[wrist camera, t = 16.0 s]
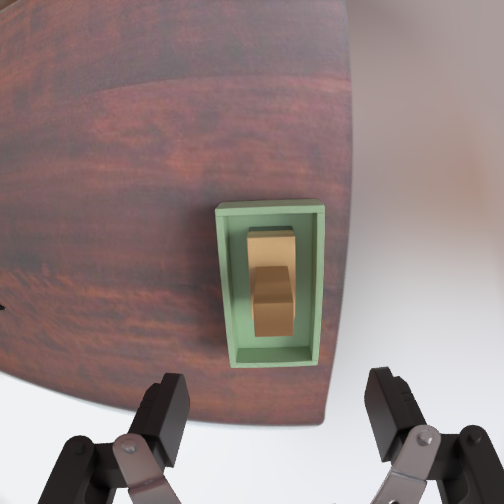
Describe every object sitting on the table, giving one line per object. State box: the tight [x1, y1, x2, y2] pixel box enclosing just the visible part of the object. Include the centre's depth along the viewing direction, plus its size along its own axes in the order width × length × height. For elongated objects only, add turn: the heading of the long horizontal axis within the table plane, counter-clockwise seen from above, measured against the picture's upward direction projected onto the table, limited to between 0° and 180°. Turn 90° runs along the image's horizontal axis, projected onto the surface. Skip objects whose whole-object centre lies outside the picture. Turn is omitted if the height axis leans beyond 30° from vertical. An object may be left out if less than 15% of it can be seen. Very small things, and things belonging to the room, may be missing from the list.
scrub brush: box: [247, 226, 295, 337], centre depth 23 cm, size 7×4×10 cm, turn 3°
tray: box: [215, 199, 325, 368], centre depth 27 cm, size 15×8×3 cm, turn 3°
